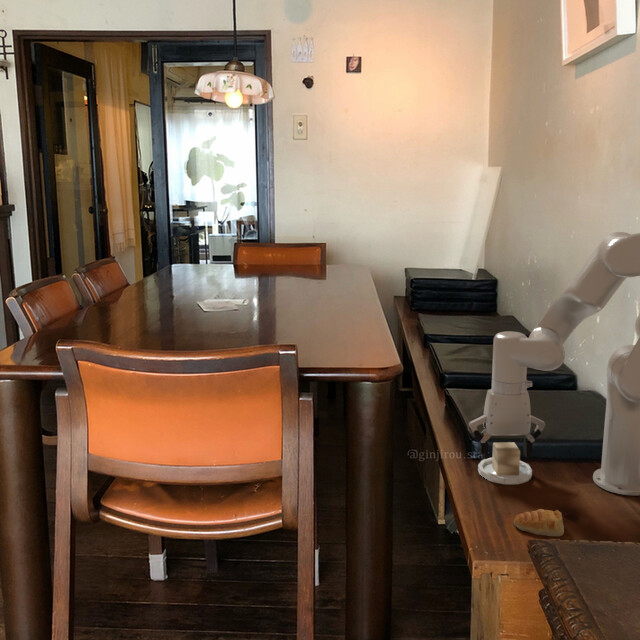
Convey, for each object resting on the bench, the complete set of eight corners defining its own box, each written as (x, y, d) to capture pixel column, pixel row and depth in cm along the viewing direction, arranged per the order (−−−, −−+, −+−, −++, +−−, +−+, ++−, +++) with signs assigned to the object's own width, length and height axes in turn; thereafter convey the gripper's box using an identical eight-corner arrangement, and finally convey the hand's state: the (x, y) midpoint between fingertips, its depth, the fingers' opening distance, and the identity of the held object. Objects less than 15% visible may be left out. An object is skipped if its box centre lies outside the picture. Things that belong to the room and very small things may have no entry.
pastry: (515, 535, 135) (516, 517, 134) (511, 519, 141) (512, 501, 140) (565, 539, 133) (567, 520, 132) (559, 521, 140) (560, 504, 139)
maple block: (513, 466, 164) (514, 442, 162) (518, 475, 159) (520, 450, 157) (491, 466, 164) (492, 442, 162) (497, 475, 159) (498, 451, 158)
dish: (523, 462, 167) (523, 456, 167) (538, 484, 155) (538, 478, 155) (473, 462, 167) (473, 457, 167) (484, 484, 156) (484, 479, 155)
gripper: (541, 380, 160) (538, 449, 164) (467, 381, 161) (465, 450, 164) (552, 391, 153) (547, 463, 157) (473, 392, 153) (471, 463, 157)
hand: (505, 456), depth 161 cm, fingers open, 9 cm apart
